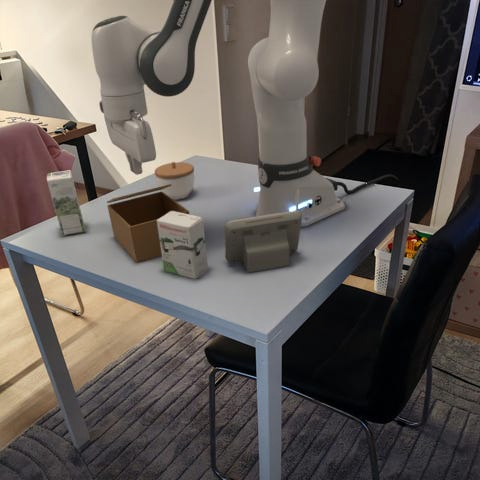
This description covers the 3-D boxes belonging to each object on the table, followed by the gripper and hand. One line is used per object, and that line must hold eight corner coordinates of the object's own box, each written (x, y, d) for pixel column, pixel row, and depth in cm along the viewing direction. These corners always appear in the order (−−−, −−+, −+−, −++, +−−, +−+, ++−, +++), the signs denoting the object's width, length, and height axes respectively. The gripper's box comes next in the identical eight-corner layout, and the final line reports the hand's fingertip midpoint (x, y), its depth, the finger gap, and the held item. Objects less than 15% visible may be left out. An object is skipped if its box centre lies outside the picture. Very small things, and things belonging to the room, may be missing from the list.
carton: (114, 238, 127) (107, 205, 123) (167, 223, 133) (161, 191, 128) (137, 262, 116) (129, 227, 111) (193, 245, 121) (189, 211, 116)
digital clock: (299, 249, 116) (299, 203, 110) (304, 268, 108) (304, 220, 102) (226, 254, 116) (221, 208, 110) (226, 274, 108) (221, 226, 102)
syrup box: (84, 224, 136) (70, 168, 128) (85, 233, 131) (71, 175, 123) (62, 228, 135) (46, 172, 127) (62, 237, 130) (46, 179, 122)
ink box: (162, 271, 112) (154, 219, 105) (177, 261, 115) (169, 210, 108) (196, 279, 107) (188, 226, 101) (209, 269, 111) (203, 216, 104)
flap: (107, 203, 122) (106, 201, 122) (161, 189, 128) (161, 188, 127) (114, 200, 115) (113, 198, 115) (171, 185, 121) (171, 183, 120)
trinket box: (151, 196, 149) (145, 163, 144) (182, 186, 155) (178, 154, 149) (173, 206, 142) (167, 171, 137) (204, 194, 148) (200, 161, 142)
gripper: (157, 112, 103) (167, 181, 111) (123, 97, 118) (134, 159, 126) (127, 118, 101) (139, 188, 108) (96, 102, 116) (109, 164, 123)
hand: (136, 172), depth 117 cm, fingers closed
